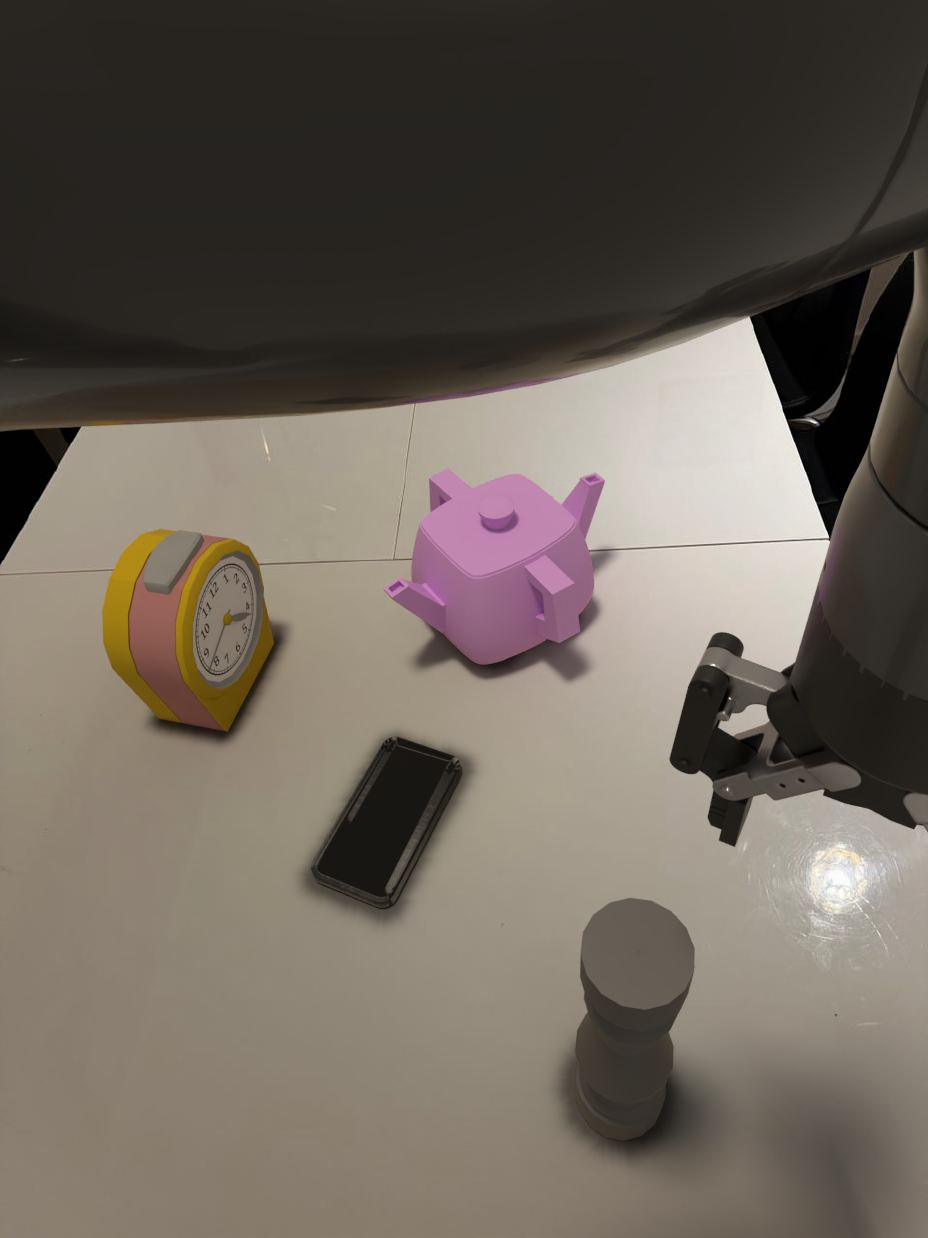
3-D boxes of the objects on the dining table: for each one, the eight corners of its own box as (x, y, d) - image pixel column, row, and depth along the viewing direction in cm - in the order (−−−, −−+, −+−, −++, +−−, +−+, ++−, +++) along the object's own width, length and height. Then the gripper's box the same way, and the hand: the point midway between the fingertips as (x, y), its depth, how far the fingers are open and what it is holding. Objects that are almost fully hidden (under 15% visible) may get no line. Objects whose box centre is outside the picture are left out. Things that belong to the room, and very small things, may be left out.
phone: (464, 759, 82) (387, 906, 74) (465, 766, 83) (389, 912, 75) (387, 733, 85) (304, 872, 76) (389, 740, 86) (307, 878, 77)
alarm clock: (226, 748, 87) (162, 619, 73) (150, 733, 89) (74, 605, 75) (287, 631, 96) (240, 498, 83) (217, 620, 98) (160, 488, 85)
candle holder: (669, 1139, 62) (711, 1013, 44) (578, 1142, 63) (581, 1018, 44) (656, 1043, 66) (689, 890, 48) (570, 1046, 67) (569, 896, 48)
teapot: (398, 676, 91) (374, 569, 80) (429, 549, 103) (412, 440, 92) (593, 689, 88) (597, 580, 77) (602, 556, 100) (606, 445, 89)
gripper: (668, 610, 26) (637, 873, 38) (1277, 805, 20) (1016, 1039, 33) (750, 455, 30) (699, 737, 42) (1275, 584, 25) (1043, 864, 37)
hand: (837, 868), depth 37 cm, fingers open, 8 cm apart
